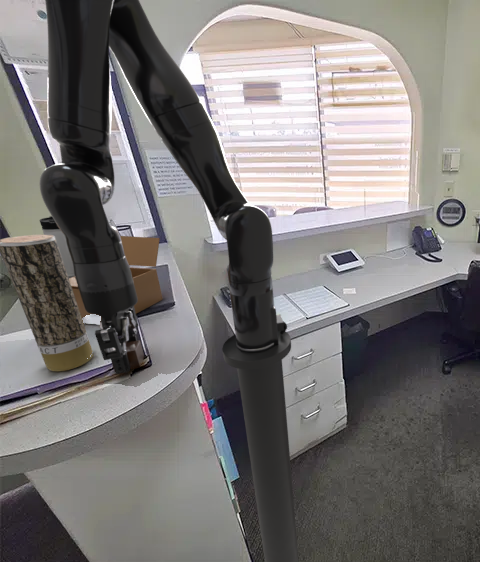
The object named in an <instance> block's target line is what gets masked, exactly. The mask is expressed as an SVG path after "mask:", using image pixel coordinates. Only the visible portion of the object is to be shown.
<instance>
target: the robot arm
mask: <svg viewBox="0 0 480 562" xmlns="http://www.w3.org/2000/svg"><path fill="white" fill-rule="evenodd" d="M44 1H45V10H46V11H45V12H46V21H47V23H46V24H47V127H48V132H49V135H50V136H51V138H52V139H53V140H54V141H56V142H57V143H58V145H59V151H60V159H61V163H57V164H52V165H51V166H48V167H47V168H45V169H44V170H43V171H42V173H41V174H40V177H39V191H40V196H41V198H42V201H43V203H44V205H45V207H46V209H47V210H48V212H49V214H50V216H52V217H53V219H54V221H55V222H56V224H57V226H58V227H59V229H60V230H61V231H62V233H63V234H64V236H65V238H66V243H67V246H68V249H69V253H70V256H71V259H72V262H73V267H74V275H75V279H76V282H77V285H78V288H79V291H80V295H81V298H82V301H83V304H84V307H85V310H86V311H87V312H88V313H90V314H96V315H99V316H101V321H100V326H99V328H100V329H96V330H95V331H94V336H95V339H96V342H97V344H98V348H99V349H100V353H101V356H102V358H103V361H107V360H110V361H111V360H112V362H111V364H112V363H113V365H112V368H113V367H114V368H113V371H114V370H115V371H114V373H115V374H117V375H120V374H121V375H122V374H125V373H129V372H130V371H131V370H132V369H131V367H130V363H129V359H128V356H127V350H126V342H132V341H138V337H137V334H138V330H137V329H138V328H139V322H138V318H137V314H136V313H135V308H134V305H135V304H136V303H137V302H138V298H137V294H136V290H135V286H134V282H133V278H132V274H131V270H130V267H131V265H129V264H128V262H127V259H126V257H125V253H124V249H123V245H122V241H121V237H120V236H121V235H120V232H119V230H118V228H117V226H116V225H115V226H116V227H115V226H113V225H111V224H110V223H109V222H110V221H109V220H108V217H107V216H108V215H107V214H106V211H105V207H104V205H106V204H108V203H109V202H110V201H111V199H112V198H113V196H114V192H115V185H116V177H115V168H114V162H113V155H112V152H111V151H112V150H111V138H112V119H113V118H112V117H113V93H112V92H113V91H112V78H111V77H112V76H111V67H110V66H111V65H110V64H111V63H110V51H111V53H112V54H113V56H114V58H115V60H116V61H117V64H118V65H119V68H120V69H121V72H122V74H123V76H124V79H125V80H126V83H127V84H128V86H129V88H130V90H131V92H132V94H133V95H134V97H135V99H136V101H137V103H138V104H139V106H140V108H141V110H142V111H143V113H144V116H145V117H146V118H147V120H148V121H149V123H150V124H151V126H152V128H153V129H154V132H156V134H157V135H158V136H159V139H160V140H161V142H162V143H163V145H164V146H165V148H166V149H167V150H168V152H169V153H170V154H171V156H172V157H173V159H174V160H175V162H176V163H177V165H178V166H179V167H180V169H181V170H182V171H183V173H184V174H185V175H186V177H187V178H188V180H190V182H191V183H192V185H193V186H194V187H195V188H196V190H197V192H198V193H199V195H200V197H201V198H202V200H203V202H204V204H205V206H206V208H207V211H208V212H209V214H210V216H211V218H212V220H213V222H214V225H215V227H216V228H217V230H218V232H219V234H220V236H222V238H224V239H225V241H226V246H227V254H228V265H227V266H226V277H227V283H228V289H229V290H228V291H229V297H230V305H231V312H232V320H233V326H234V332H235V334H236V345H237V348H238V350H240V351H242V352H245V353H258V352H263V351H266V350H268V349H270V348H272V347H273V346H277V345H279V340H278V331H281V332H280V334H283V333H284V332H285V331H286V332H287V329H288V324H287V323H286V321H284V320H283V317H282V314H277V309H276V306H275V297H274V288H273V287H274V286H273V276H272V274H273V273H272V268H273V266H274V240H273V228H272V223H271V221H270V218H269V216H268V214H267V213H266V212H265V211H264V210H262V209H261V208H259V207H258V206H255V205H252V204H251V203H249V201H248V200H247V198H246V197H245V195H244V194H243V192H242V191H241V190H240V188H239V186H238V185H237V183H236V182H235V179H234V177H233V176H232V173H231V171H230V167H229V165H228V161H227V159H226V155H225V150H224V148H223V144H222V142H221V138H220V136H219V133H218V131H217V129H216V126H215V124H214V122H213V120H212V119H211V116H210V115H209V113H208V111H207V109H206V108H205V105H204V104H203V102H202V100H201V98H200V97H199V94H198V93H197V91H196V90H195V88H194V87H193V85H192V84H191V82H190V81H189V79H188V78H187V76H186V75H185V73H184V72H183V71H182V69H181V68H180V67H179V65H178V64H177V63H176V61H175V60H174V58H173V57H172V56H171V55H170V53H169V52H168V51H167V49H166V48H165V47H164V45H163V44H162V42H161V40H160V39H159V37H158V35H157V34H156V32H155V30H154V28H153V27H152V24H151V22H150V20H149V18H148V16H147V14H146V12H145V10H144V7H143V6H142V3H141V2H140V0H44ZM235 334H234V335H235ZM119 337H120V338H119ZM113 348H115V350H113ZM130 369H131V370H130Z"/></svg>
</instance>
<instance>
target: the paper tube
mask: <svg viewBox="0 0 480 562" xmlns="http://www.w3.org/2000/svg"><path fill="white" fill-rule="evenodd" d="M0 255H1V257H2V260H3V263H4V266H5V268H6V270H7V273H8V275H9V278H10V280H11V282H12V286H13V288H14V290H15V292H16V295H17V297H18V301H19V303H20V305H21V307H22V309H23V313H24V315H25V317H26V320H27V322H28V325H29V328H30V330H31V332H32V335H33V337H34V341H35V342H36V344H37V347H38V350H39V352H40V354H41V357H42V359H43V362H44V364H45V367H46V368H47V370H49V371H52V372H66V371H69V370H73V369H75V368H79V367H81V366H83V365H86V364H87V363H88V362H90V361H91V360H92V358H93V357H94V351H93V348H92V345H91V342H90V338H89V335H88V332H87V329H86V327H85V325H84V323H83V320H82V317H81V314H80V311H79V308H78V305H77V302H76V299H75V296H74V293H73V290H72V287H71V284H70V281H69V278H68V275H67V272H66V269H65V266H64V263H63V260H62V257H61V254H60V251H59V248H58V245H57V242H56V239H55V238H54V235H44V234H27V235H18V236H10V237H5V238H1V239H0ZM92 352H93V354H92ZM91 354H92V355H91ZM90 355H91V357H90ZM87 358H88V359H87Z"/></svg>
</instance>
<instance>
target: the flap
mask: <svg viewBox="0 0 480 562" xmlns="http://www.w3.org/2000/svg"><path fill="white" fill-rule="evenodd" d="M120 237H121V241H122V245H123V249H124V253H125V257H126V259H127V262H128V264H129V266H137V267H152V268H157V262H158V257H159V256H158V255H159V248H160V240H161V239H160V237H149V236H147V237H146V236H129V235H120Z"/></svg>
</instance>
